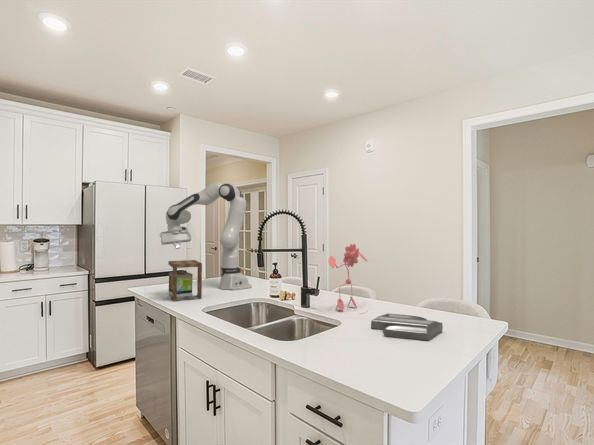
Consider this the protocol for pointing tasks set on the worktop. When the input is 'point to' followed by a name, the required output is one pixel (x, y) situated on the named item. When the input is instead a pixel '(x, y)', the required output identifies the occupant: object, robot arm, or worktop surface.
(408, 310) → the worktop surface
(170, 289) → the tea box
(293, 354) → the worktop surface
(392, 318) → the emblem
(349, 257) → the pink flower figurine
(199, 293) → the walnut shelf
